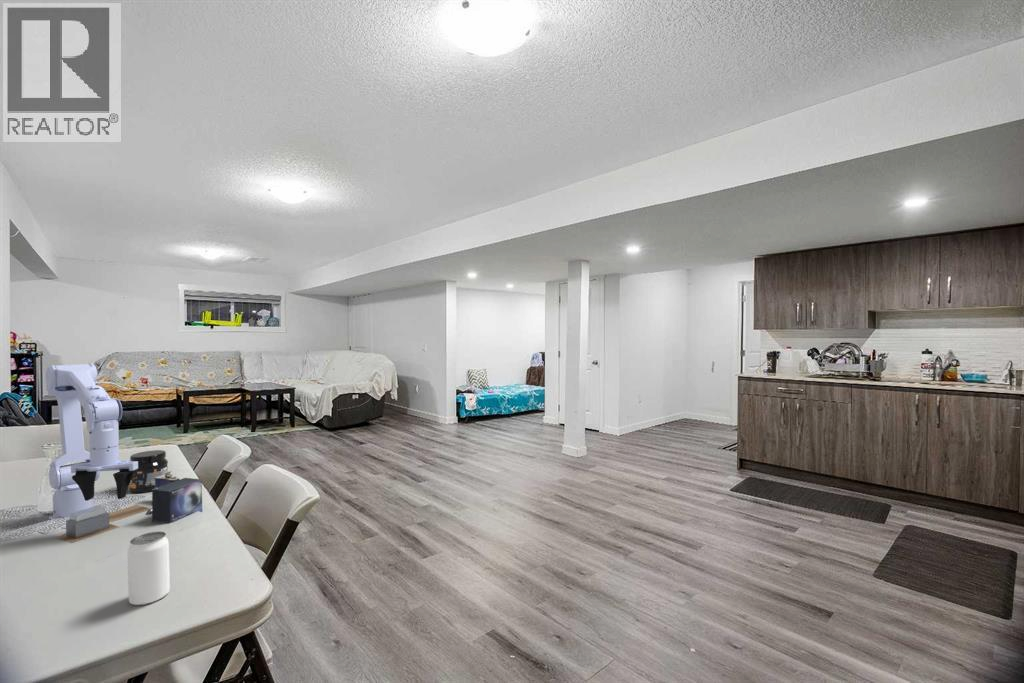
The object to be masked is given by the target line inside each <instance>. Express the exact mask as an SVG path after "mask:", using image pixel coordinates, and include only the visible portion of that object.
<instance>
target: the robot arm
mask: <svg viewBox="0 0 1024 683" xmlns="http://www.w3.org/2000/svg"><path fill="white" fill-rule="evenodd" d="M45 371H46V372H45V384H46V386H45V387H46V392H47V394H48V395H49V396H53V397H55V399H56V401H57V407H58V418H59V429H60V430H59V431H60V442H61V450H62V452H61V454H60V455H59V456H57V457H56V458H54V459H53V460H52V461H51V462H50V464H49V472H48V473H49V474H48V475H49V476H48V481H49V484H50V485H49V486H50V487H51V488H52V489H53V490H55V491H54V492H53V494H52V516H49V517H48V519H49V520H54V519H57V518H69V514H70V513H73V512H77V511H80V510H84V509H87V508H91V507H94V497H95V482H96V481H98V480H99V478H100V476H101V472H110V471H113V472H114V471H115V473H113V478H114V481H115V483H116V484H115V485H116V497H117V500H121V499H124V498H125V497H127V494H128V489H129V484H130V481H131V479H132V477H133V476H134V474H135V472H136V470H137V469H138V461H130V460H120V437H119V435H120V434H119V433H120V432H119V430H120V429H119V421H121V420H122V417H123V406H122V403H121V401H120V399H119V398H111V396H110V395H109V394H108V392H107V391H106V390H105V388H104V387H102V386H100V385H98V384H97V385H96V382H97V379H98V370H97V367H96V365H95V364H94V363H92V362H89V363H76V364H62V365H61V364H58V365H56V364H55V365H54V364H51V365H49V366H48V367H47V368H46V370H45ZM82 408H83V409H84V418H85V422H86V428H87V429H86V430H87V431H88V437H89V438H88V439H89V451H87V450H85V449H86V448H85V440H84V430H83V429H84V428H83V426H84V425H83V417H82ZM76 462H77V463H76ZM69 463H70V464H69Z"/></svg>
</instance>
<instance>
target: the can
mask: <svg viewBox="0 0 1024 683" xmlns="http://www.w3.org/2000/svg"><path fill="white" fill-rule="evenodd" d="M166 535H167V534H166V532H165V531H152V532H147V533H142V534H140V535H137V536H135V537H133V538H132V539H130V541H129V543H130V544H129V546H128V548H127V582H128V583H127V586H128V590H127V591H128V602H129V603H130V604H131V605H132V606H146V605H150V604H153V603H156V602H159V601H160V600H162V599H163V598H165V597H166V596H167V595H168V593H170V590H171V589H170V588H171V585H170V584H171V583H170V582H171V580H170V579H171V577H170V549H169V548H170V546H169V545H170V544H169V543H170V541H169V539H168V537H166Z"/></svg>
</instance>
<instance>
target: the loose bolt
mask: <svg viewBox="0 0 1024 683" xmlns="http://www.w3.org/2000/svg"><path fill="white" fill-rule="evenodd" d="M145 515H146V516H150V515H152V508H151V509H149V510H148V511H146V512H145Z"/></svg>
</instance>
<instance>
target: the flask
mask: <svg viewBox="0 0 1024 683" xmlns="http://www.w3.org/2000/svg"><path fill="white" fill-rule="evenodd" d="M172 472H173V471H172V470H170V471H168V472H166V473H164V474H165V476H158V477H155V478H154V479H155V488H157V487H160V486H163V485H166V484H169V483H171V482H174V481H177V480H180V478H179V477H176V476H175V475H173V474H171V473H172Z"/></svg>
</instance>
